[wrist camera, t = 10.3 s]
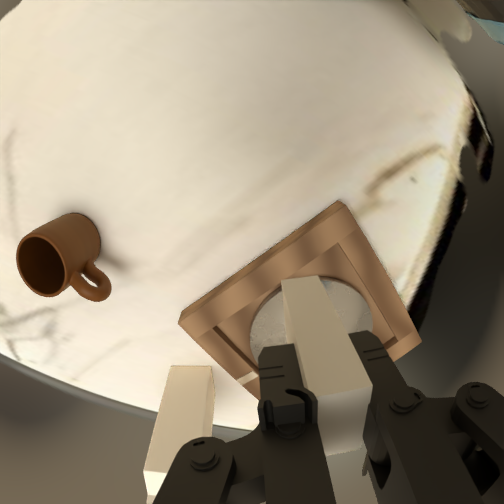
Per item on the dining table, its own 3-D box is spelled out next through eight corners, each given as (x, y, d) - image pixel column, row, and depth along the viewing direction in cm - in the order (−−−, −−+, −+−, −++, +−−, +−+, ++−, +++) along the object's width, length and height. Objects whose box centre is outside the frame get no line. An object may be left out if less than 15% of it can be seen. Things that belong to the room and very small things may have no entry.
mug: (140, 246, 38) (112, 277, 29) (119, 293, 40) (91, 331, 31) (64, 201, 35) (22, 219, 26) (48, 249, 37) (10, 276, 28)
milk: (170, 365, 44) (136, 493, 23) (211, 365, 44) (195, 499, 23) (178, 394, 46) (152, 515, 25) (216, 394, 46) (205, 520, 25)
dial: (223, 333, 40) (219, 375, 32) (320, 249, 36) (340, 278, 29) (302, 394, 44) (311, 435, 36) (390, 328, 40) (414, 363, 33)
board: (338, 200, 36) (346, 205, 33) (413, 330, 43) (422, 342, 40) (181, 311, 41) (177, 324, 38) (284, 410, 47) (286, 424, 44)
